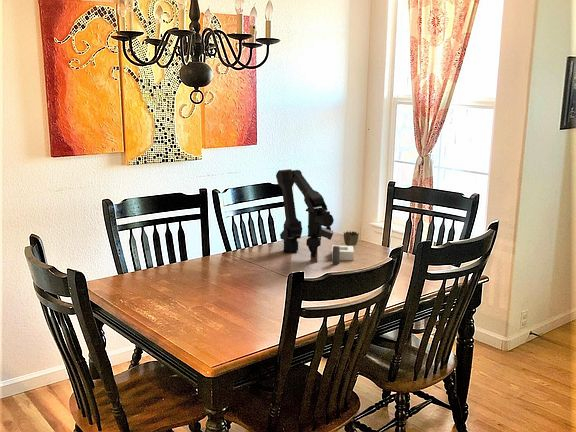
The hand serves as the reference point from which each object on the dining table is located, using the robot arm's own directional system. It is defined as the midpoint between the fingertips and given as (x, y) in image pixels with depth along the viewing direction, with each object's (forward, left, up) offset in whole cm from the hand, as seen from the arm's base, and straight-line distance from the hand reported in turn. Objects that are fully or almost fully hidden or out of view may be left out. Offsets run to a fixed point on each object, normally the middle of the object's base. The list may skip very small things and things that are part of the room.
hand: (314, 255), depth 268 cm
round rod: (+10, -3, -2) cm, 11 cm away
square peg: (0, 0, -2) cm, 2 cm away
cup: (+17, +22, -3) cm, 28 cm away
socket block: (+13, +8, -2) cm, 15 cm away
